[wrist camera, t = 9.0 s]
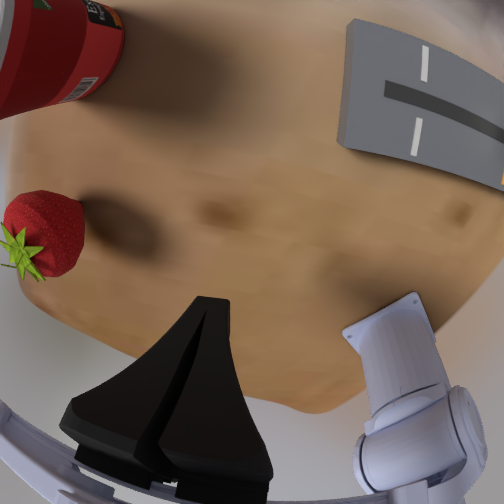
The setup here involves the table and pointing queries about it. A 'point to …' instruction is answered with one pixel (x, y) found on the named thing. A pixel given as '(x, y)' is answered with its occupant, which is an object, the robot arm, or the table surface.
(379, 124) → the fader board
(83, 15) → the canned food
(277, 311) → the table surface
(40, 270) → the strawberry
